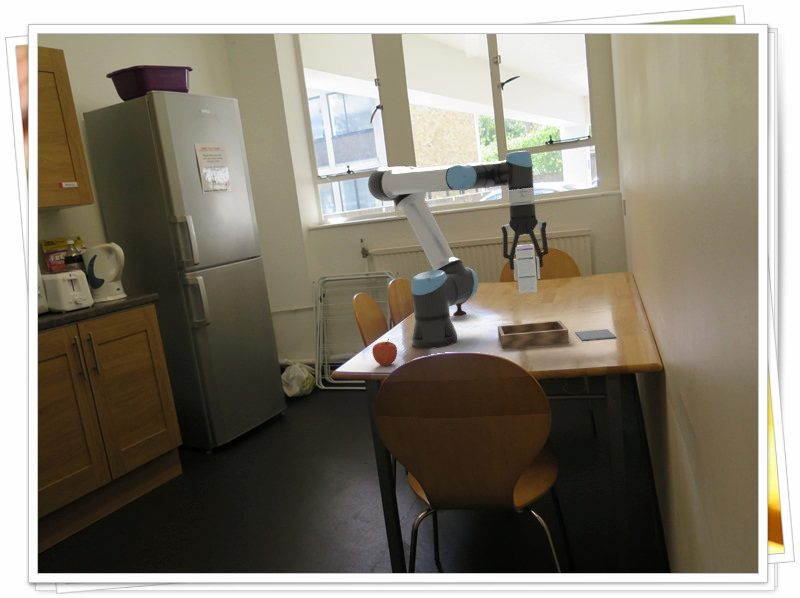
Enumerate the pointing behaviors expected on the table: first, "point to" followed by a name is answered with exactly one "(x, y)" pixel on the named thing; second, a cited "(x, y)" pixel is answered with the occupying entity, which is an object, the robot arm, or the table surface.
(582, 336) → the mat
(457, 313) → the ice cream bowl
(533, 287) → the syrup box
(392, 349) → the apple
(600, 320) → the table surface
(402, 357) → the table surface
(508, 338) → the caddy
